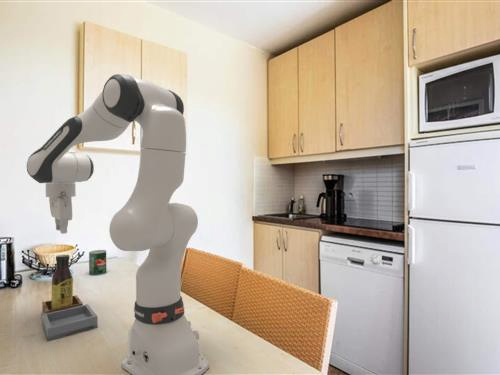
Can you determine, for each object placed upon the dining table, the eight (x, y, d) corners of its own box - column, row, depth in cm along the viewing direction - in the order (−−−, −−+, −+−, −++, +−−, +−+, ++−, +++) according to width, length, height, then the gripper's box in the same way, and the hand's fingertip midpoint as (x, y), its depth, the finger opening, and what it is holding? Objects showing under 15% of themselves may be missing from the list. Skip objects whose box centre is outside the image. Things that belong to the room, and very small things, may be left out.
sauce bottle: (62, 317, 103) (61, 258, 103) (46, 316, 105) (46, 257, 104) (77, 309, 110) (76, 254, 110) (62, 308, 111) (61, 253, 111)
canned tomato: (101, 275, 152) (101, 253, 152) (85, 275, 152) (85, 253, 152) (109, 271, 160) (109, 249, 160) (94, 271, 160) (94, 249, 160)
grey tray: (97, 327, 96) (97, 316, 96) (47, 341, 88) (47, 328, 88) (87, 314, 106) (87, 304, 106) (42, 325, 98) (42, 314, 98)
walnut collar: (82, 313, 107) (82, 303, 106) (46, 322, 100) (46, 311, 100) (76, 304, 115) (76, 295, 115) (42, 312, 108) (42, 302, 108)
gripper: (77, 192, 101) (77, 234, 101) (66, 191, 117) (66, 227, 117) (54, 192, 97) (55, 236, 97) (46, 191, 113) (46, 229, 113)
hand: (61, 231), depth 107 cm, fingers open, 8 cm apart
